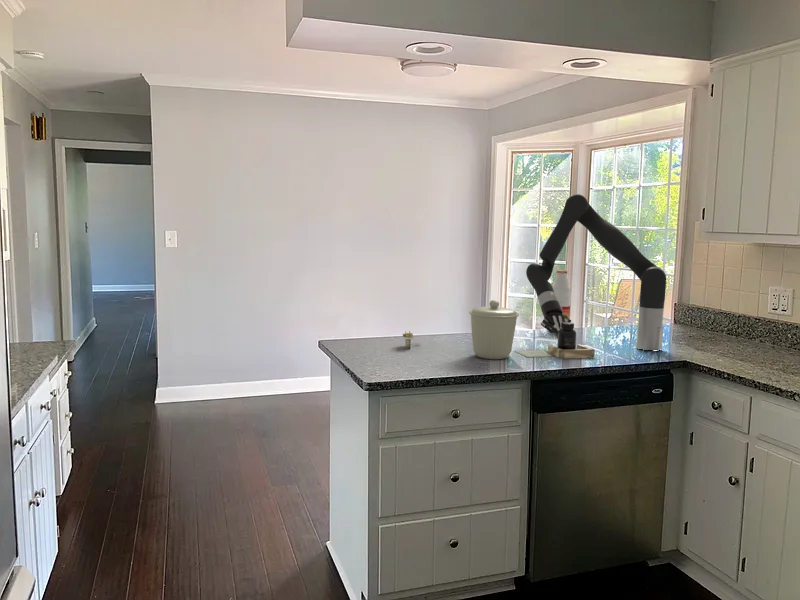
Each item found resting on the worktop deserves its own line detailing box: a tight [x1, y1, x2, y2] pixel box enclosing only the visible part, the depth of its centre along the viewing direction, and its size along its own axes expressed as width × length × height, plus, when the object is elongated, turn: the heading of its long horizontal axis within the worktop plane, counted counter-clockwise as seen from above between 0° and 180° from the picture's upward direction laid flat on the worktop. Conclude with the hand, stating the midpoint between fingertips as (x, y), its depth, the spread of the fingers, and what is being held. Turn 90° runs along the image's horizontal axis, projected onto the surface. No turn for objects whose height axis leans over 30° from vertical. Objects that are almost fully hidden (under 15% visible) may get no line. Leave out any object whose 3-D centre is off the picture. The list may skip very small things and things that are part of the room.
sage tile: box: [515, 349, 553, 358], centre depth 252 cm, size 10×10×1 cm
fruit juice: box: [549, 269, 572, 329], centre depth 304 cm, size 9×9×28 cm
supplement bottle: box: [556, 322, 577, 350], centre depth 254 cm, size 7×7×12 cm
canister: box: [468, 299, 520, 360], centre depth 244 cm, size 18×18×21 cm
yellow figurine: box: [402, 330, 414, 349], centre depth 259 cm, size 12×18×7 cm, turn 1°
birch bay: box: [547, 344, 596, 360], centre depth 252 cm, size 10×14×3 cm
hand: (562, 340), depth 258 cm, fingers closed
